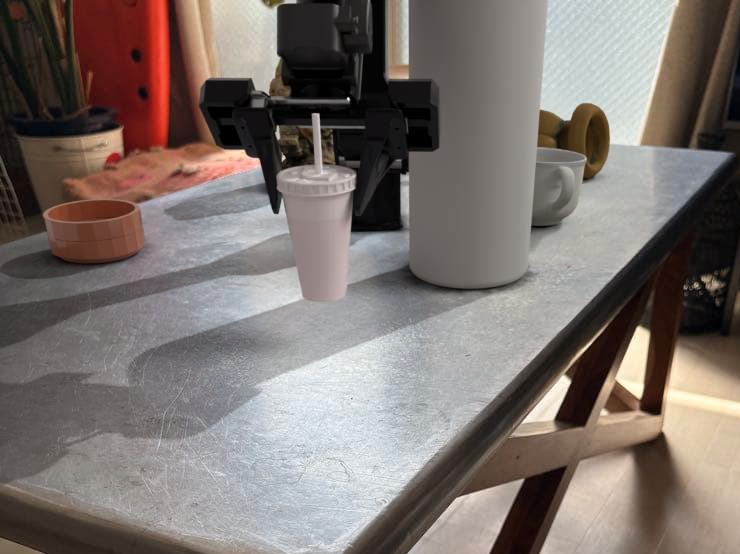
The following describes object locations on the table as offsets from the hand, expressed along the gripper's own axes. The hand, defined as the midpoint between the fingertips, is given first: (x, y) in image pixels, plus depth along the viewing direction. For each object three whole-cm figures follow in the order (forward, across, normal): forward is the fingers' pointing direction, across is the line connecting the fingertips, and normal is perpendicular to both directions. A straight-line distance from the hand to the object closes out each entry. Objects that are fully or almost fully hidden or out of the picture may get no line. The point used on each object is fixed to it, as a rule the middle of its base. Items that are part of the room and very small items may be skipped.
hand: (315, 212), depth 69 cm
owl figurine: (-34, -11, +52) cm, 63 cm away
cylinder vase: (-7, +12, +24) cm, 28 cm away
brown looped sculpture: (-39, +18, +57) cm, 71 cm away
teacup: (-20, +20, +38) cm, 47 cm away
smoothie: (+4, 0, +6) cm, 7 cm away
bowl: (-10, -30, +27) cm, 42 cm away
